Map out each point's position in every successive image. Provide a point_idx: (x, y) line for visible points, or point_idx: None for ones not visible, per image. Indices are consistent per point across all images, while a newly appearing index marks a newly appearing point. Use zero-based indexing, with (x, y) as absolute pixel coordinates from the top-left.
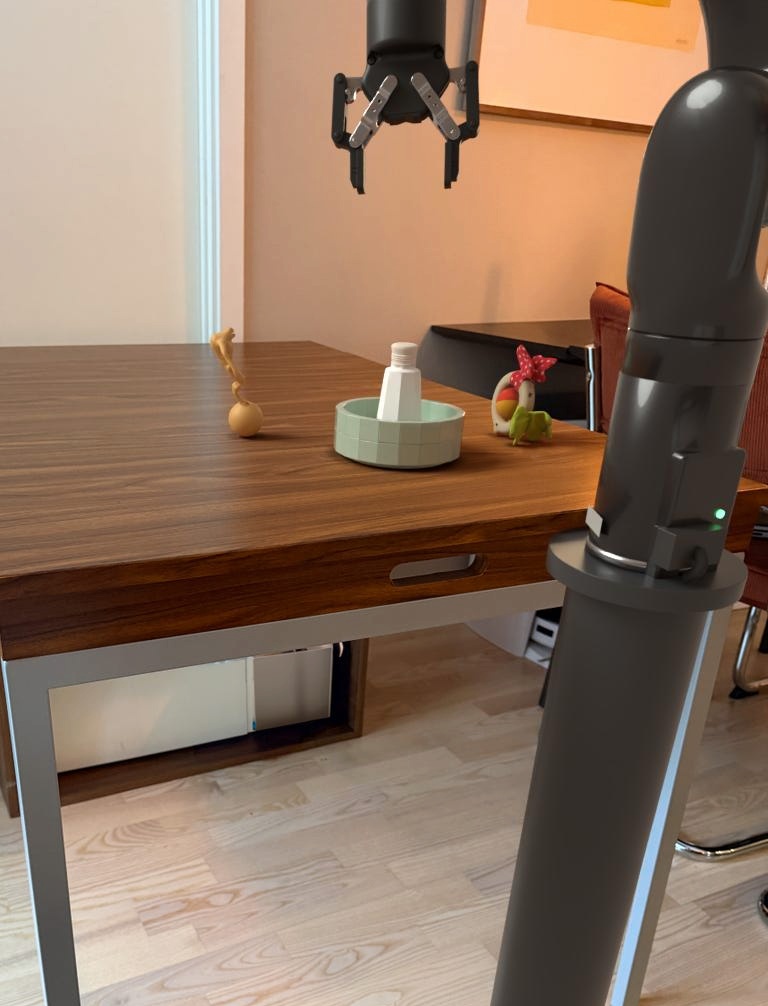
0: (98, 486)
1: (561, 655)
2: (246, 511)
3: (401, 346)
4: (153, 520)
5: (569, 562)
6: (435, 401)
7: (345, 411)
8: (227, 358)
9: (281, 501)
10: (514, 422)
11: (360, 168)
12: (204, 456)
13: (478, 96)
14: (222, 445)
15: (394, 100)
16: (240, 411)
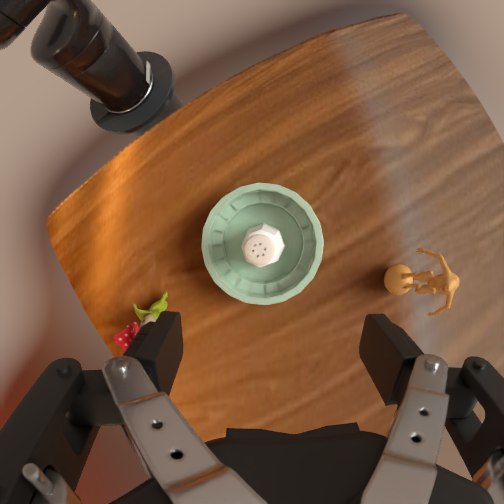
0: (438, 119)
1: (176, 96)
2: (346, 81)
3: (262, 235)
4: (386, 64)
5: (166, 65)
6: (228, 291)
7: (312, 217)
8: (435, 253)
9: (331, 101)
10: (161, 299)
11: (390, 331)
12: (409, 202)
13: (15, 412)
14: (404, 241)
15: (349, 473)
16: (404, 268)
